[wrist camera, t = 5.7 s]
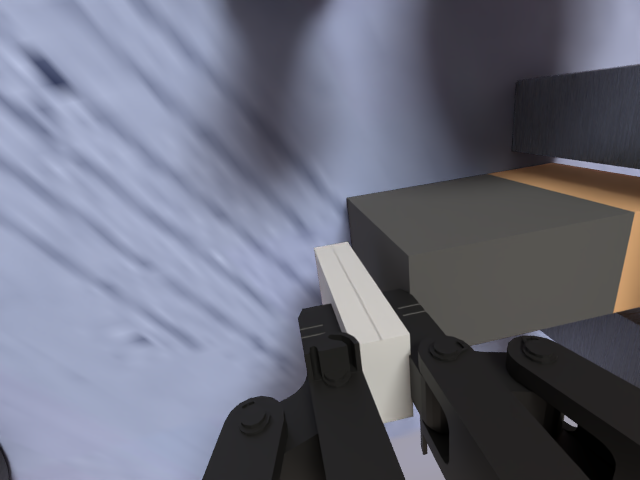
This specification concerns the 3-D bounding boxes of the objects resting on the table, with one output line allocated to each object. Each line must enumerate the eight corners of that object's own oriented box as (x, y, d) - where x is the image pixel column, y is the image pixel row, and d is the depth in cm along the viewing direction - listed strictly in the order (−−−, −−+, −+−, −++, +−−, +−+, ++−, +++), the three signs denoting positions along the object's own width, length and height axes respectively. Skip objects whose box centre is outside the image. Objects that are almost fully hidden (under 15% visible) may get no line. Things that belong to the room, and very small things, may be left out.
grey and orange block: (353, 266, 19) (412, 359, 12) (346, 197, 18) (408, 255, 11) (545, 228, 21) (703, 292, 13) (552, 162, 19) (735, 192, 12)
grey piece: (501, 300, 22) (709, 459, 12) (516, 80, 17) (881, 33, 7) (543, 291, 22) (780, 438, 12) (569, 73, 18) (989, 17, 8)
